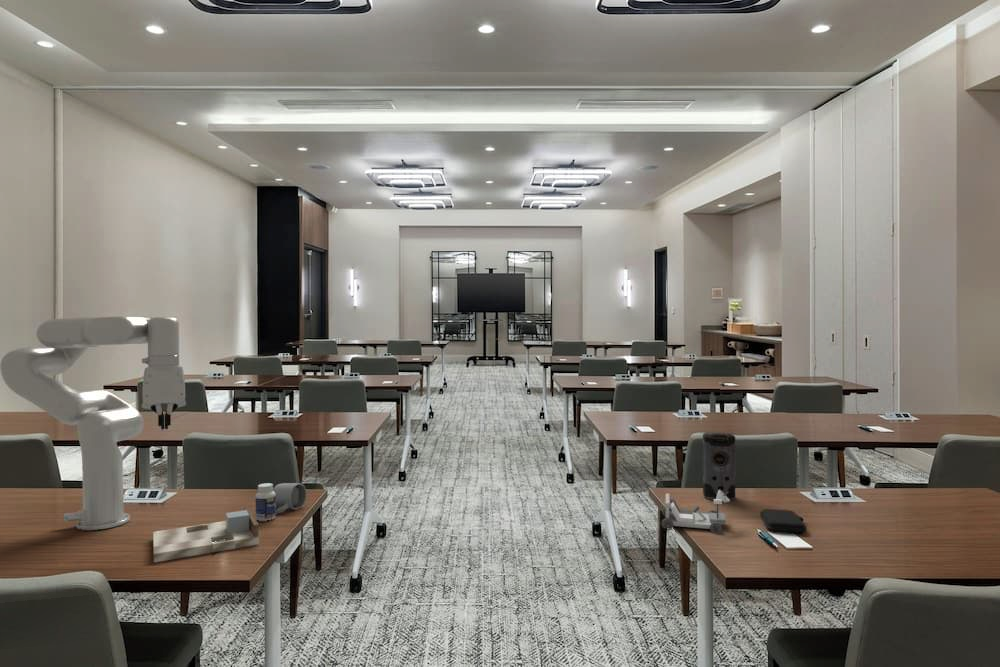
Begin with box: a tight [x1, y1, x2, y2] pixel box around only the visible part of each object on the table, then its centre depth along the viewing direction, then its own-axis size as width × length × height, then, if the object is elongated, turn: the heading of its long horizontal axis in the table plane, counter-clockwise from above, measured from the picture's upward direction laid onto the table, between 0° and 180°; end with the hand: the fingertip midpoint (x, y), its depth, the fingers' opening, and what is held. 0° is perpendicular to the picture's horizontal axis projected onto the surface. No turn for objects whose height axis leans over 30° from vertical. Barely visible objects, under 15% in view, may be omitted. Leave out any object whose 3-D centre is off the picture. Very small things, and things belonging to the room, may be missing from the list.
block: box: [225, 509, 249, 534], centre depth 159 cm, size 5×5×4 cm
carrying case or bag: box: [759, 508, 807, 535], centre depth 166 cm, size 11×3×15 cm
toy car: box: [661, 490, 731, 534], centre depth 167 cm, size 18×10×12 cm
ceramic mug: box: [272, 482, 307, 515], centre depth 183 cm, size 11×8×8 cm
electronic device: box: [702, 432, 736, 501], centre depth 193 cm, size 9×6×20 cm, turn 80°
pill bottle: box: [255, 482, 277, 522], centre depth 174 cm, size 5×5×10 cm
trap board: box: [152, 506, 260, 563], centre depth 155 cm, size 23×18×5 cm
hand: (164, 428), depth 167 cm, fingers closed
